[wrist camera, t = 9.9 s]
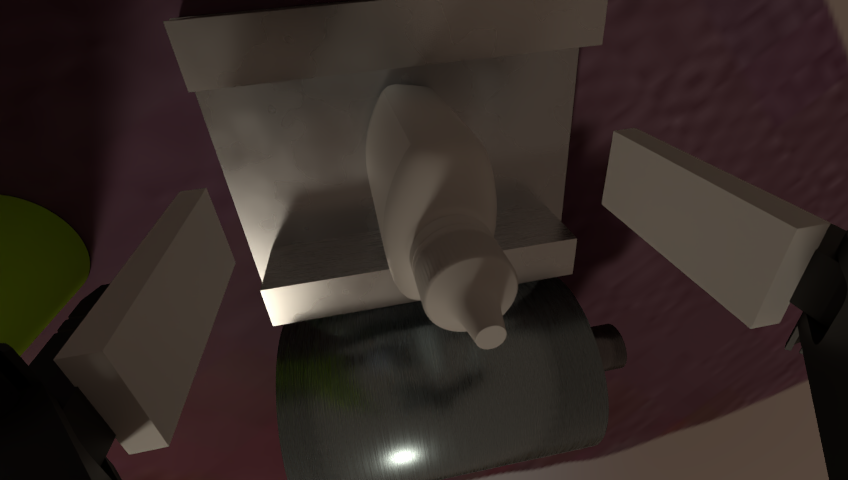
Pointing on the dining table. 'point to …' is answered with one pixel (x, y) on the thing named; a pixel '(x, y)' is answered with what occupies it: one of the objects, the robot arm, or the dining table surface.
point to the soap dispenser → (35, 269)
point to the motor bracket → (361, 239)
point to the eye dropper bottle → (438, 213)
